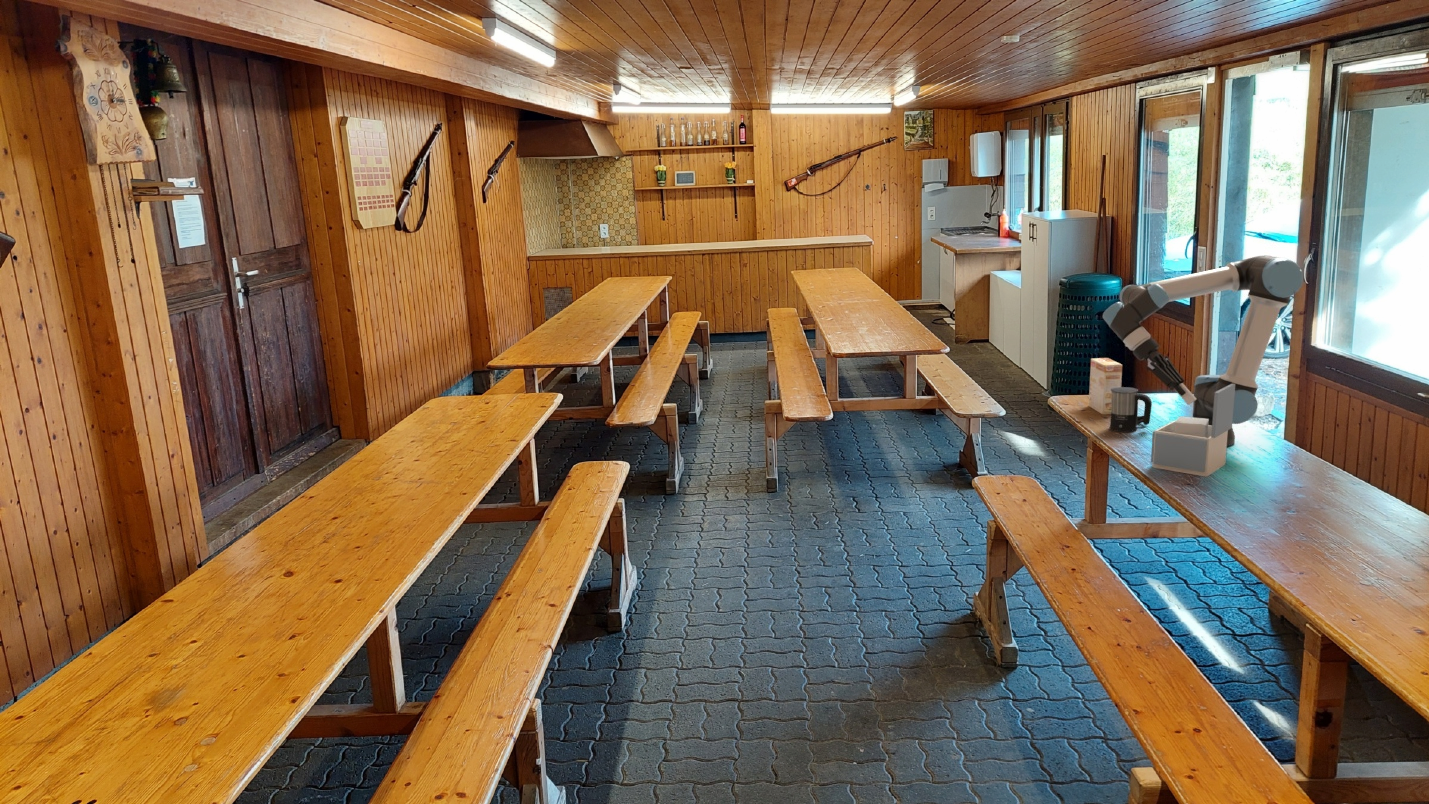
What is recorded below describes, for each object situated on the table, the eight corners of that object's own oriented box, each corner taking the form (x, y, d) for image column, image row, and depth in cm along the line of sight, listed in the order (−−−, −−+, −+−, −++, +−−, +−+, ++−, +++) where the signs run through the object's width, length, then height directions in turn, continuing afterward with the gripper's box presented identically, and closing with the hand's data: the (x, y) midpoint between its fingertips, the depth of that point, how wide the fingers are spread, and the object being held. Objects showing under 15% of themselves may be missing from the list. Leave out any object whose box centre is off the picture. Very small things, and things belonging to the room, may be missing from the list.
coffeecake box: (1120, 414, 379) (1123, 364, 374) (1101, 414, 379) (1104, 365, 374) (1106, 405, 393) (1108, 357, 389) (1088, 406, 393) (1090, 358, 389)
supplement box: (1202, 471, 306) (1206, 424, 302) (1171, 468, 310) (1174, 422, 307) (1206, 463, 313) (1209, 418, 310) (1175, 460, 318) (1178, 415, 314)
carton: (1148, 467, 312) (1150, 430, 309) (1170, 454, 324) (1172, 419, 321) (1205, 477, 300) (1208, 439, 297) (1226, 463, 312) (1229, 427, 309)
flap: (1211, 437, 298) (1214, 392, 295) (1228, 427, 308) (1231, 383, 305) (1214, 438, 297) (1218, 392, 294) (1231, 427, 307) (1235, 384, 304)
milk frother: (1110, 432, 354) (1112, 391, 351) (1105, 421, 369) (1107, 382, 366) (1152, 433, 351) (1155, 392, 347) (1146, 422, 365) (1148, 383, 362)
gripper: (1141, 348, 321) (1191, 405, 313) (1124, 354, 312) (1174, 413, 305) (1159, 334, 316) (1209, 391, 308) (1142, 339, 308) (1194, 398, 300)
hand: (1192, 402), depth 307 cm, fingers closed
